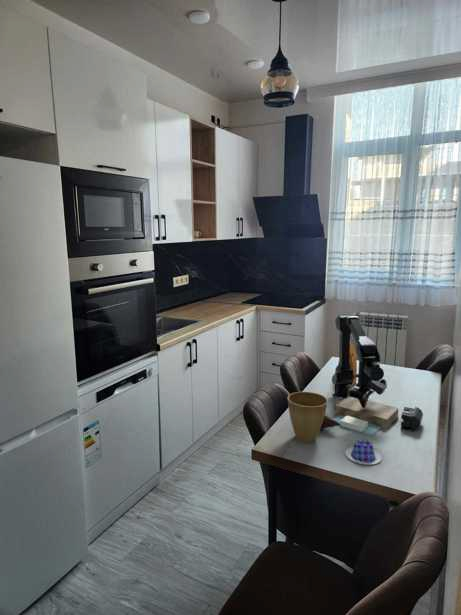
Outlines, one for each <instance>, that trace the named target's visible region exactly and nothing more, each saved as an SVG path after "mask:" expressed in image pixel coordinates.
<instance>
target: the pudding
mask: <svg viewBox="0 0 461 615" xmlns="http://www.w3.org/2000/svg"><path fill="white" fill-rule="evenodd" d="M345 456H346V457H347V458H348V459H349V460H350V461H352V462H355V463H357V464H360V465H376V464H379V463H381V461H382V455H381V454H380V453H379V452H378V451H377V450H376V449H375V450H374V445H373V443H372V442H370V441H368V440H365V439H357V440H356V441H355V443H354V445H353V446H351V447H348V448H347V449H346V450H345Z"/></svg>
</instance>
